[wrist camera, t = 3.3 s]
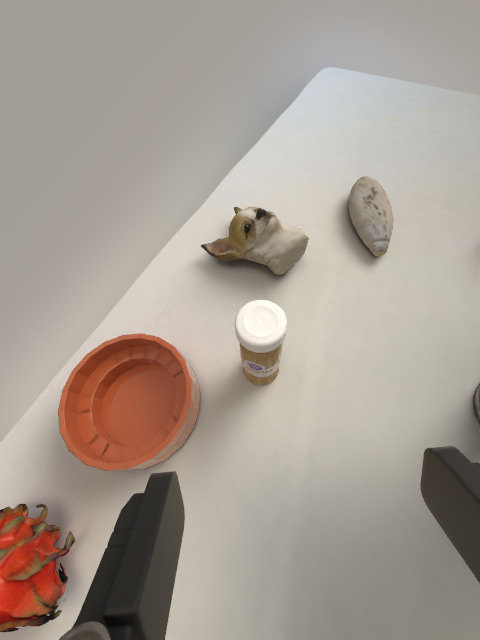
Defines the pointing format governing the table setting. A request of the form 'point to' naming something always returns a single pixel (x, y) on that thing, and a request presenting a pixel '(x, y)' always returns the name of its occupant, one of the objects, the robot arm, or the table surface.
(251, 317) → the sprinkles bottle
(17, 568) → the dragon fruit
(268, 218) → the ceramic sculpture
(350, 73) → the table surface
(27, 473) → the table surface
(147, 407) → the bowl
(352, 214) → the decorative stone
